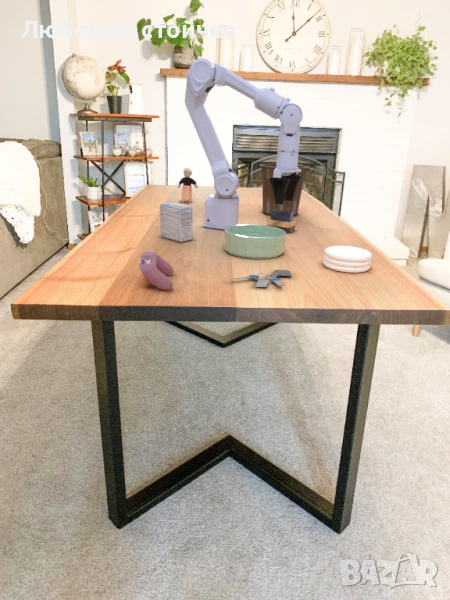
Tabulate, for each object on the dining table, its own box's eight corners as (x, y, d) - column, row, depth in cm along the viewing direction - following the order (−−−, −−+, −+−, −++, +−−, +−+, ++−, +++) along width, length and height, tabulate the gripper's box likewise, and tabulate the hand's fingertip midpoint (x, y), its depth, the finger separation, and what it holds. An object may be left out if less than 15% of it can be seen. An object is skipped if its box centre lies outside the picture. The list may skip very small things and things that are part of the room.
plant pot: (271, 207, 165) (275, 162, 159) (311, 213, 156) (316, 165, 150) (248, 213, 153) (250, 164, 147) (289, 219, 144) (294, 168, 138)
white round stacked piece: (313, 262, 99) (315, 246, 98) (350, 258, 103) (352, 243, 101) (341, 275, 90) (343, 258, 89) (379, 271, 94) (382, 255, 93)
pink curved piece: (155, 281, 87) (137, 250, 85) (175, 271, 87) (158, 240, 84) (151, 299, 78) (132, 265, 76) (174, 289, 78) (155, 254, 75)
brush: (266, 230, 128) (267, 211, 126) (272, 227, 132) (273, 208, 130) (289, 233, 125) (291, 213, 123) (294, 230, 129) (296, 211, 127)
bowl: (213, 253, 103) (214, 232, 101) (240, 241, 115) (240, 222, 113) (270, 263, 97) (272, 240, 95) (292, 249, 109) (293, 229, 107)
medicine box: (193, 240, 114) (193, 206, 111) (180, 242, 111) (180, 208, 108) (173, 234, 119) (172, 202, 116) (160, 237, 116) (159, 203, 113)
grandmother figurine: (177, 202, 168) (177, 167, 163) (177, 200, 172) (177, 166, 167) (197, 203, 169) (198, 168, 164) (197, 201, 172) (197, 167, 168)
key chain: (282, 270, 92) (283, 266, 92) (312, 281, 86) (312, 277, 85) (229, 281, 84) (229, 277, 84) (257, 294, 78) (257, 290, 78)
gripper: (293, 153, 113) (288, 207, 118) (310, 151, 125) (305, 200, 130) (267, 151, 116) (264, 204, 121) (286, 150, 128) (282, 198, 133)
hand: (283, 202), depth 125 cm, fingers open, 7 cm apart
